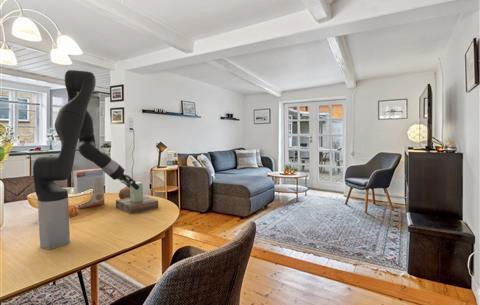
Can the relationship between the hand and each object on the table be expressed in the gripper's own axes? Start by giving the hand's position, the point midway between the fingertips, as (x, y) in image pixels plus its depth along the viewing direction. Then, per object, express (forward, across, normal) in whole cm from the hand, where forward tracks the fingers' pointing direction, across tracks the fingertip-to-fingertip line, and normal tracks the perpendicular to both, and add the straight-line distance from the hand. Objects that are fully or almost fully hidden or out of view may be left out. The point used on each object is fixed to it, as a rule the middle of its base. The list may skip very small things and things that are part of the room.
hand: (134, 187), depth 146 cm
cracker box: (-3, +23, +19) cm, 31 cm away
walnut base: (+9, 0, +7) cm, 12 cm away
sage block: (+6, 0, +5) cm, 8 cm away
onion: (+11, +18, +6) cm, 21 cm away
